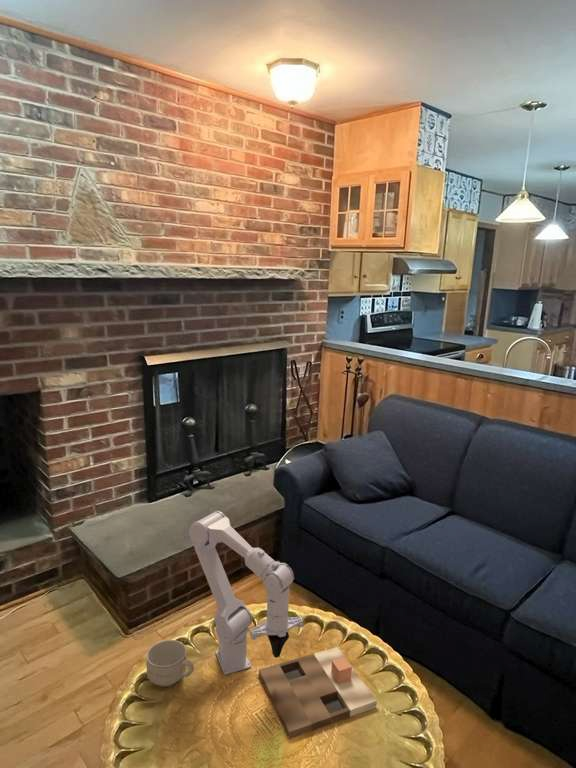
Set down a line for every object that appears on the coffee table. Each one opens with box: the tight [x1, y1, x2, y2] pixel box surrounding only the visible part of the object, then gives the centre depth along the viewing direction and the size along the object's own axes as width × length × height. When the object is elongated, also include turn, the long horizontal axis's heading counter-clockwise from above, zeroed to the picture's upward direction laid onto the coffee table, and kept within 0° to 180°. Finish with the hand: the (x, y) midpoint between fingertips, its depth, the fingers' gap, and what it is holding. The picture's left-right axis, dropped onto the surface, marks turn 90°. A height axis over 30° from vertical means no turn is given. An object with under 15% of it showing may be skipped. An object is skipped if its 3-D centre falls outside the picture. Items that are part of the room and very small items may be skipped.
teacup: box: [145, 639, 195, 687], centre depth 134 cm, size 14×11×8 cm
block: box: [331, 656, 353, 684], centre depth 135 cm, size 4×4×4 cm
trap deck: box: [258, 646, 378, 740], centre depth 133 cm, size 21×25×2 cm
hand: (275, 654), depth 133 cm, fingers closed
